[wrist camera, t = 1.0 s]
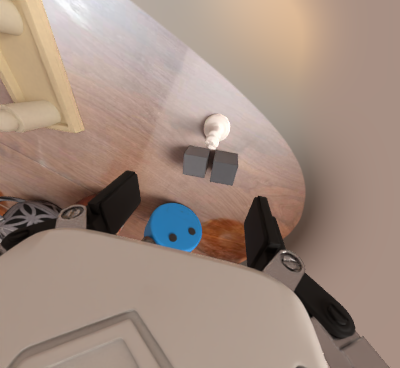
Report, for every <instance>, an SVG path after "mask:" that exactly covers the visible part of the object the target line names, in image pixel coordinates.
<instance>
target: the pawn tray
mask: <svg viewBox="0 0 400 368" xmlns="http://www.w3.org/2000/svg"><path fill="white" fill-rule="evenodd" d="M0 78H1V80H2V82H3V84H4V86H5V88H6V89H7V91H8V93H9V95H10V97H11V99H12V100H13V102H14V103H10V104H0V131H2V132H13V131H15V132H18V133H23V132H27V131H31V130H35V129H39V128H48V129H54V130H60V131H65V132H71V133H78V132H81V131H84V130H85V129H84V126H83V123H82V120H81V117H80V114H79V111H78V108H77V105H76V102H75V99H74V96H73V93H72V90H71V87H70V84H69V81H68V78H67V75H66V72H65V69H64V66H63V63H62V60H61V57H60V54H59V51H58V48H57V45H56V42H55V39H54V36H53V33H52V30H51V27H50V24H49V21H48V18H47V15H46V12H45V9H44V6H43V3H42V0H0Z"/></svg>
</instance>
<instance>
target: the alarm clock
mask: <svg viewBox="0 0 400 368" xmlns="http://www.w3.org/2000/svg"><path fill="white" fill-rule="evenodd" d="M201 236H202V228H201V224H200V221H199V219H198V217H197V216H196V215H195V213H194V212H193V211H191V210H190V209H189V208H187V207H186V206H184V205H181V204H178V203H166V204H162V205H160V206H159V207H157V208H156V209H155V210H154V211H153V213H152V215H151V217H150V219H149V221H148V223H147V225H146V227H145V231H144V238H143V239H142V240H141V241H144V242H148V243H152V244H157V245H161V246H165V247H169V248H174V249H178V250H182V251H186V252H191V251H192V250H193V249H194V248H195V247H196V246H197V245H198V243H199V242H200V239H201Z"/></svg>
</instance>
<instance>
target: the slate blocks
mask: <svg viewBox="0 0 400 368" xmlns="http://www.w3.org/2000/svg"><path fill="white" fill-rule="evenodd" d="M209 154H210V149H206V148H201V147H195V146H189V147H188V149H187V150H186V152H185V153H184V162H183V174H186V175H191V176H196V177H201V178H204V177H205V174H206V171H207V167H208V161H209ZM237 168H238V154H235V153H229V152H223V151H218V150H216V153H215V157H214V161H213V166H212V172H211V177H210V182H215V183H221V184H226V185H231V186H232V185H233V182H234V179H235V175H236V172H237Z"/></svg>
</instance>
